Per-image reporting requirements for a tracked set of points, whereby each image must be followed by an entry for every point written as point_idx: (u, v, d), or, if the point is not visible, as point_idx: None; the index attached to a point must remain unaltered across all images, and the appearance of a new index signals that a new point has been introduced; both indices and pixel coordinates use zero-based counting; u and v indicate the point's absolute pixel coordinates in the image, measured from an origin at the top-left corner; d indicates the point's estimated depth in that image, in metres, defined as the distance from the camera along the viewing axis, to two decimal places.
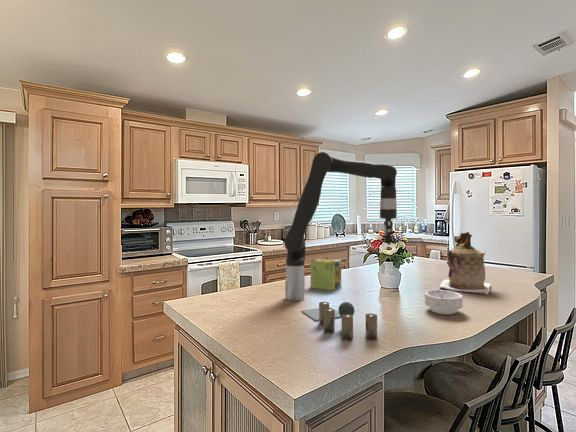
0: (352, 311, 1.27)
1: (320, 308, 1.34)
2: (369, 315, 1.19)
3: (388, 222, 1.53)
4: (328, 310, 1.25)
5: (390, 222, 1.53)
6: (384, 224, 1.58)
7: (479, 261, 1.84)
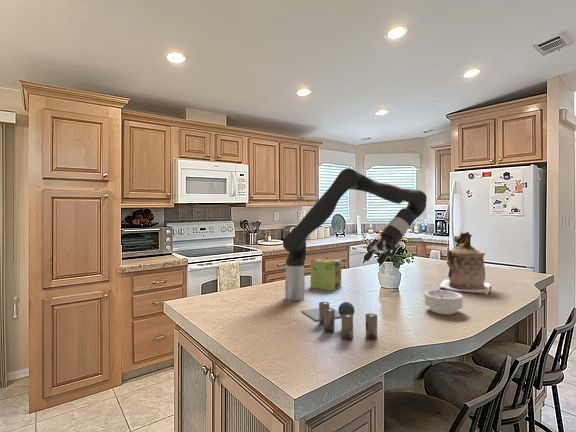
0: (352, 311, 1.27)
1: (320, 308, 1.34)
2: (369, 315, 1.19)
3: (397, 243, 1.29)
4: (328, 310, 1.25)
5: (398, 245, 1.29)
6: (385, 242, 1.33)
7: (479, 261, 1.84)
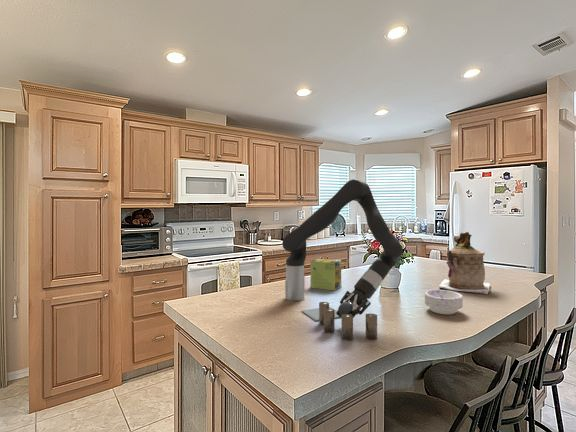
0: None
1: (320, 308, 1.34)
2: (369, 315, 1.19)
3: (367, 301, 1.25)
4: (328, 310, 1.25)
5: (369, 303, 1.25)
6: (357, 297, 1.28)
7: (479, 261, 1.84)
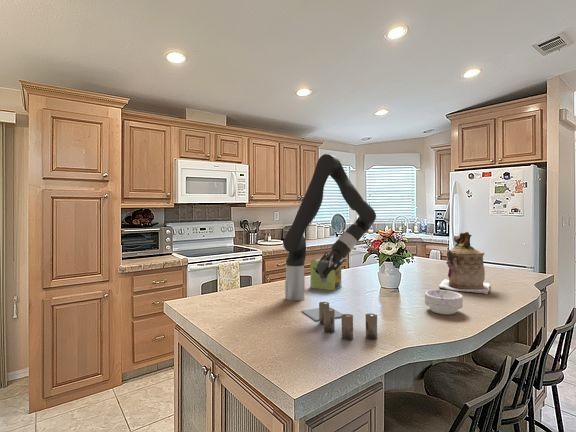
0: None
1: (320, 308, 1.34)
2: (369, 315, 1.19)
3: (341, 259, 1.40)
4: (328, 310, 1.25)
5: (343, 260, 1.40)
6: (333, 256, 1.44)
7: (478, 261, 1.84)
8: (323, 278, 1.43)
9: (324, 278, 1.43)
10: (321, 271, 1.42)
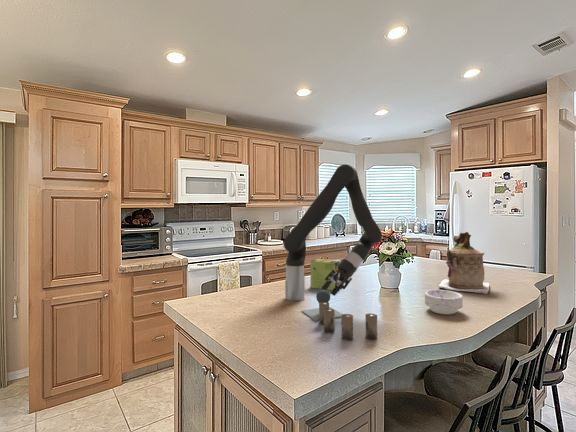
0: (328, 297, 1.44)
1: (320, 308, 1.34)
2: (369, 315, 1.19)
3: (349, 277, 1.43)
4: (328, 310, 1.25)
5: (350, 278, 1.43)
6: (340, 275, 1.47)
7: (478, 261, 1.84)
8: None
9: None
10: (321, 301, 1.44)
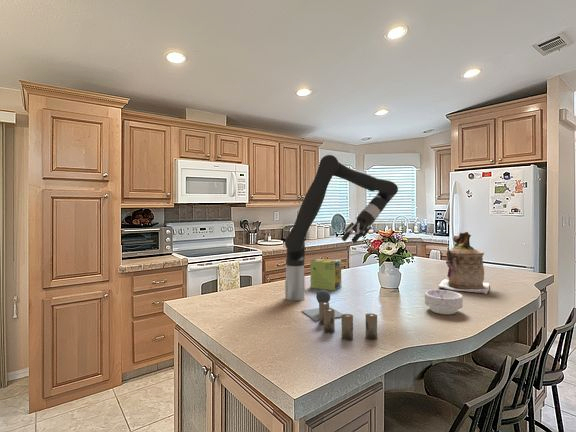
0: (328, 297, 1.44)
1: (320, 308, 1.34)
2: (369, 315, 1.19)
3: (368, 225, 1.52)
4: (328, 310, 1.25)
5: (369, 226, 1.52)
6: (359, 224, 1.56)
7: (478, 261, 1.84)
8: None
9: None
10: (321, 301, 1.44)
